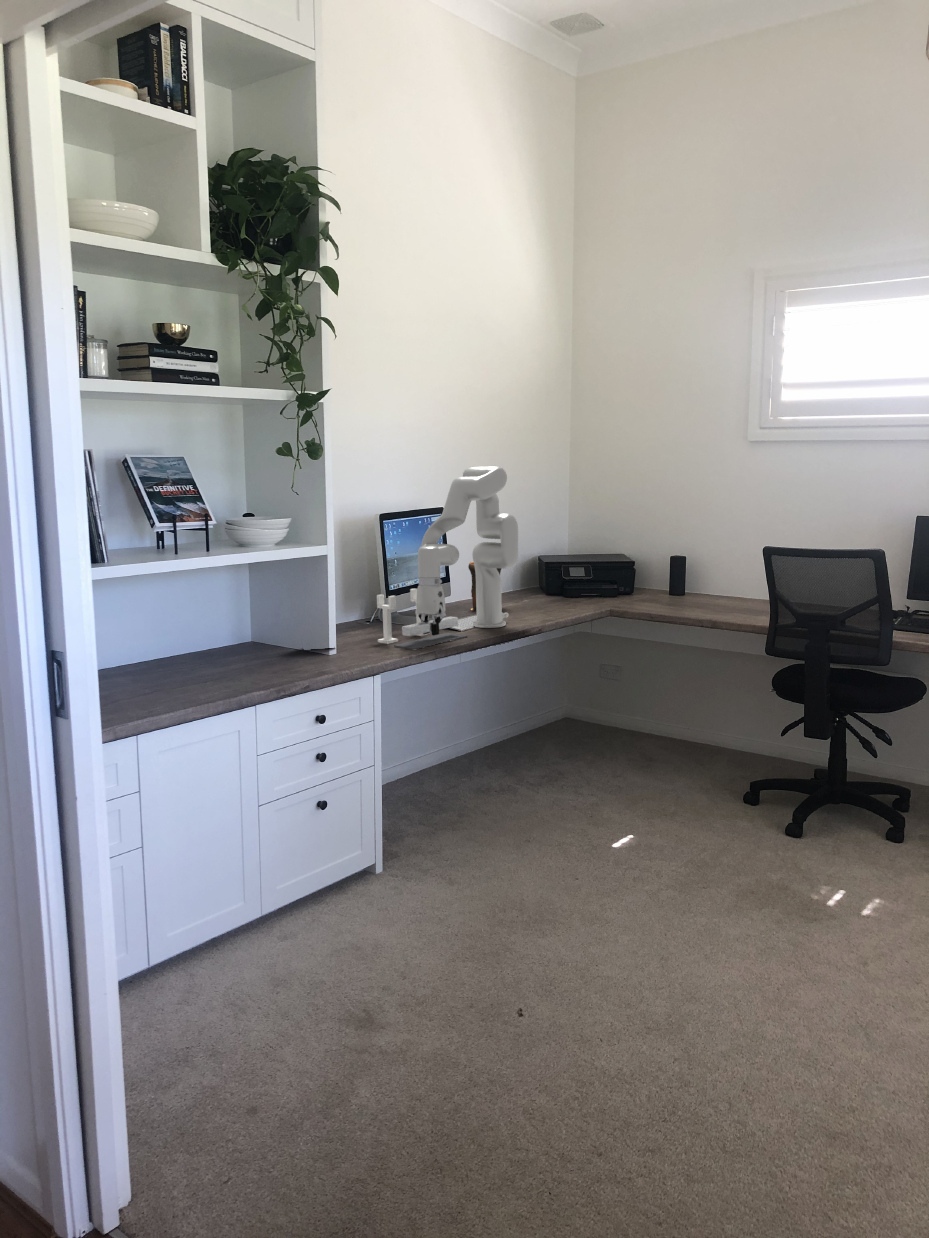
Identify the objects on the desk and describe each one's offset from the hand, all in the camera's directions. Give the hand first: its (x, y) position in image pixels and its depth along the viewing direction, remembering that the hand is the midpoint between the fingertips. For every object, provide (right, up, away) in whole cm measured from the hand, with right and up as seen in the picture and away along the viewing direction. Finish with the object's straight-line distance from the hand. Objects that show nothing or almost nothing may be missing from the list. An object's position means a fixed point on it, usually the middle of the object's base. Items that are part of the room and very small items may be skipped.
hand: (431, 633), depth 332 cm
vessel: (+21, +9, +67) cm, 71 cm away
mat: (0, -3, +1) cm, 3 cm away
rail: (0, +1, 0) cm, 1 cm away
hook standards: (-10, -2, +9) cm, 13 cm away
